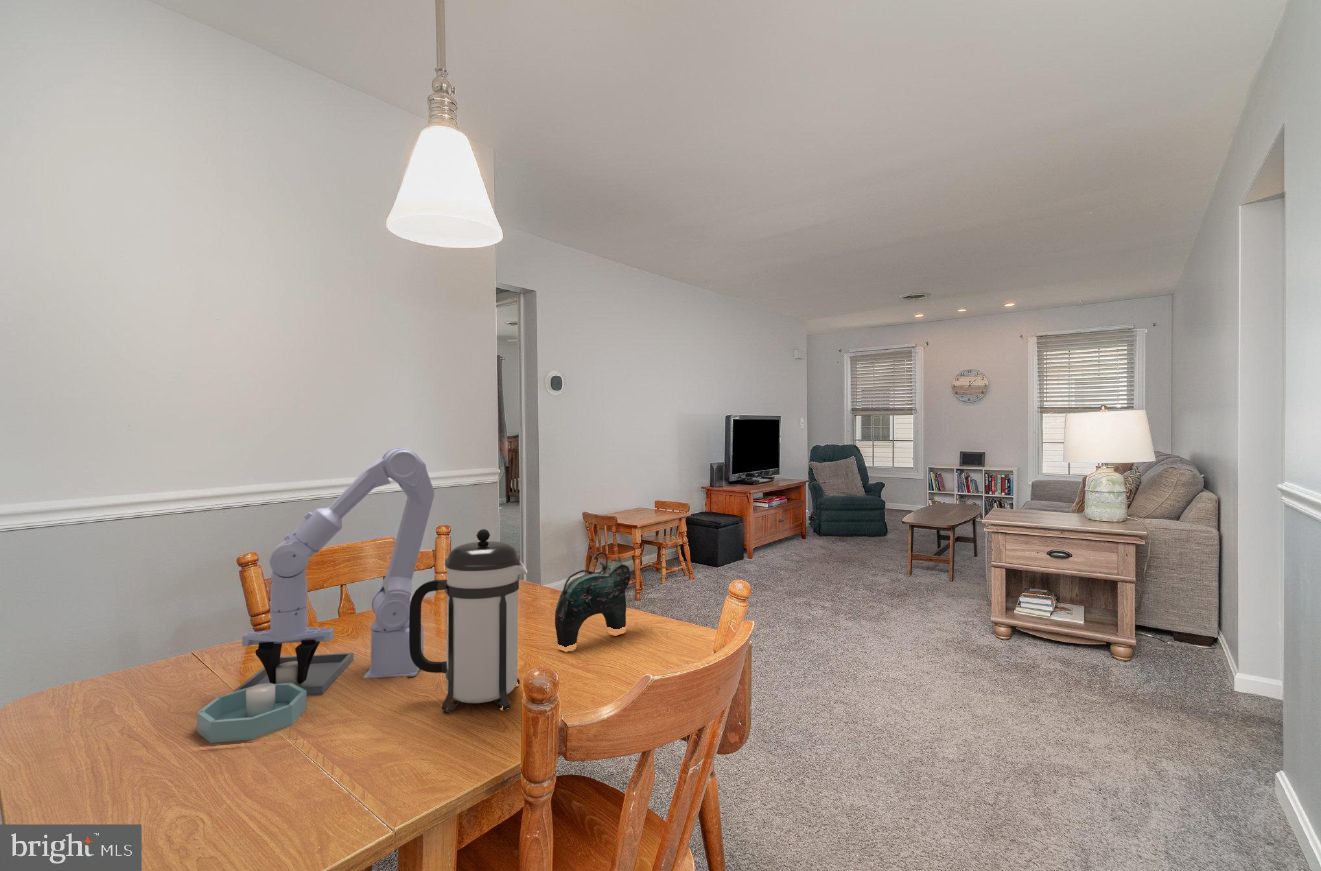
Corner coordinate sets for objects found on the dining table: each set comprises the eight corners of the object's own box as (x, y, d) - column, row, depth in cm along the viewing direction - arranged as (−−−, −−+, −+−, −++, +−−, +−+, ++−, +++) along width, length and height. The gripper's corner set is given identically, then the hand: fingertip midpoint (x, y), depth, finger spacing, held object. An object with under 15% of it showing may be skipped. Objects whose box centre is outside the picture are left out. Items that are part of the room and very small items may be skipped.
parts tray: (353, 662, 120) (353, 652, 120) (322, 697, 104) (322, 685, 104) (276, 667, 117) (276, 657, 117) (232, 703, 101) (232, 691, 101)
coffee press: (496, 672, 115) (497, 520, 115) (541, 698, 103) (542, 529, 103) (407, 700, 102) (407, 529, 103) (447, 733, 91) (447, 541, 91)
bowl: (315, 701, 102) (316, 681, 102) (280, 740, 89) (280, 717, 89) (230, 707, 100) (230, 686, 100) (180, 748, 86) (181, 724, 86)
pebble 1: (277, 705, 99) (277, 681, 99) (272, 715, 96) (272, 691, 96) (248, 709, 97) (248, 685, 97) (243, 720, 94) (243, 695, 94)
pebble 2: (305, 682, 109) (305, 660, 109) (295, 691, 105) (296, 668, 105) (281, 683, 108) (281, 662, 108) (271, 692, 104) (271, 670, 104)
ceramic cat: (618, 628, 142) (618, 546, 142) (636, 634, 137) (636, 549, 138) (550, 649, 128) (550, 557, 128) (568, 657, 123) (568, 562, 123)
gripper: (339, 600, 112) (339, 671, 112) (256, 603, 109) (255, 676, 109) (325, 610, 105) (325, 686, 105) (236, 614, 102) (235, 692, 102)
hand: (288, 682), depth 107 cm, fingers closed on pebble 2, 4 cm apart
